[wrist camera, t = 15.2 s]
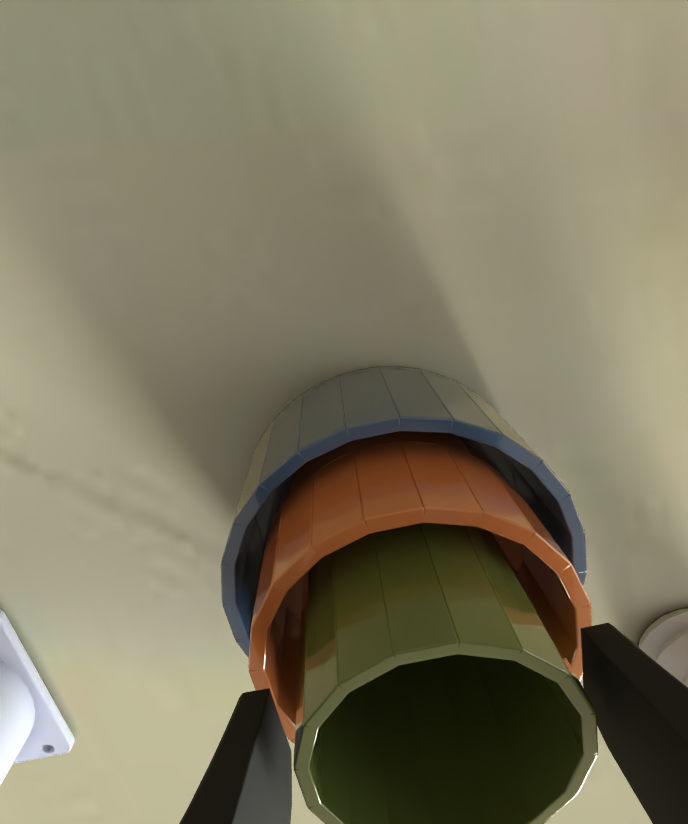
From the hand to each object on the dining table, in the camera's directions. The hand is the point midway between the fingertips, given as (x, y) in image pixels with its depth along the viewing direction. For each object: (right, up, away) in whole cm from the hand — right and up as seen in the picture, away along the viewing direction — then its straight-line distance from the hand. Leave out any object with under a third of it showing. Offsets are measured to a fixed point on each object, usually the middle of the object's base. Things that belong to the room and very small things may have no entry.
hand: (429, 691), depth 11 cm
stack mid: (0, +3, +8) cm, 8 cm away
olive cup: (0, +2, +4) cm, 4 cm away
